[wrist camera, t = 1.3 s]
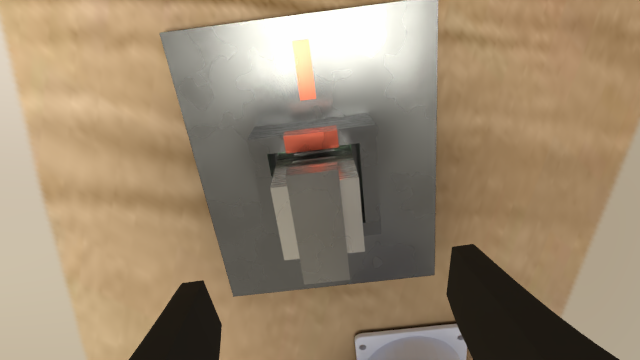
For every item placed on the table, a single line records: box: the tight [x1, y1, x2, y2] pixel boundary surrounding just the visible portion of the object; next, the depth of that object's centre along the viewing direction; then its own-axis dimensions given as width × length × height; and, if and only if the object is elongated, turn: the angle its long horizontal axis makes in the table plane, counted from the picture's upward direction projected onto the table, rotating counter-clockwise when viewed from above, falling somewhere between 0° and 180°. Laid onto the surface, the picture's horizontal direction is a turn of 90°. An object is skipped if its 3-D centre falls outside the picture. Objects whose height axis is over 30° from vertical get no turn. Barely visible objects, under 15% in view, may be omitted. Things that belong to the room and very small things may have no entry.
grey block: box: [270, 144, 365, 285], centre depth 17 cm, size 5×4×6 cm
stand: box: [160, 0, 438, 297], centre depth 19 cm, size 16×13×4 cm
